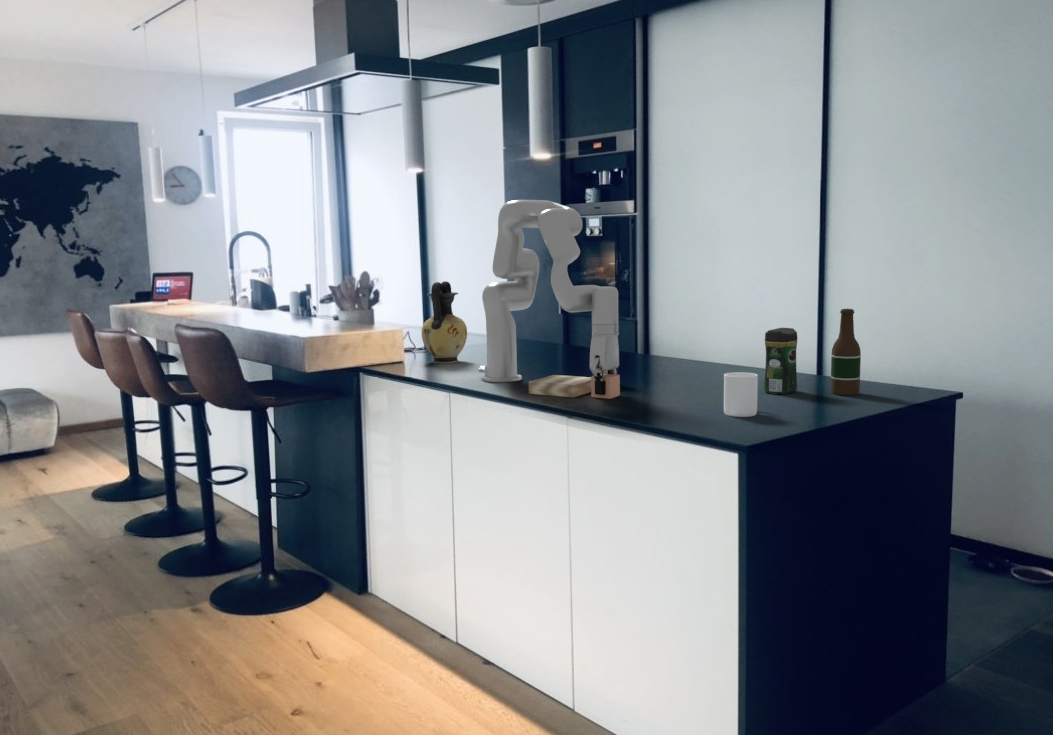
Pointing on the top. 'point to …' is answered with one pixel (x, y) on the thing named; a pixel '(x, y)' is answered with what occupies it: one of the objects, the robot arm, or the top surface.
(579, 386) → the maple block
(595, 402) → the top surface
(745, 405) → the cup
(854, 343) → the beer bottle
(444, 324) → the amphora
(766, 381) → the coffee jar
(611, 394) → the terracotta cube
